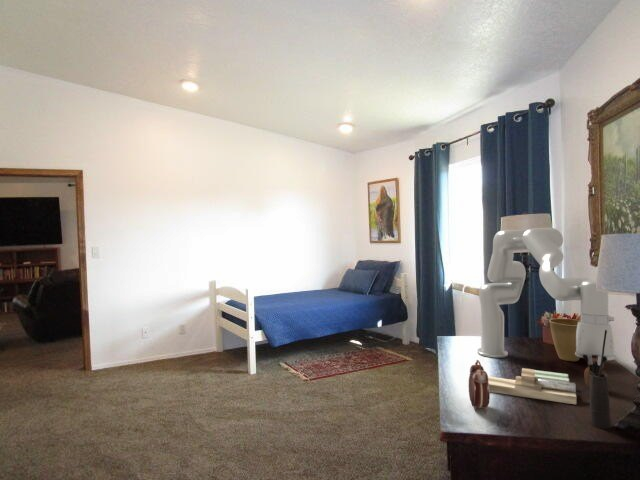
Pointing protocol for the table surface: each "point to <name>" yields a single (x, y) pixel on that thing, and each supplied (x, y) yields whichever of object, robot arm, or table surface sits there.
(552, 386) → the steel axle
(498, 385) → the maple beam
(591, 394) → the butter churn
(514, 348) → the table surface
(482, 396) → the alarm clock
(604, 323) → the robot arm
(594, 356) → the wooden figurine
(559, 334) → the plant pot
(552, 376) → the block
